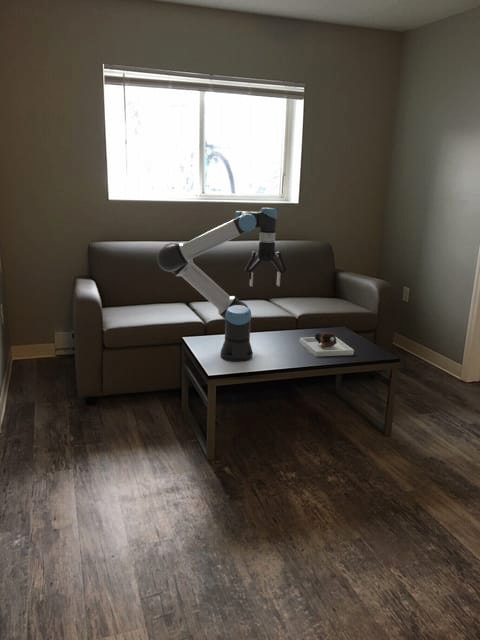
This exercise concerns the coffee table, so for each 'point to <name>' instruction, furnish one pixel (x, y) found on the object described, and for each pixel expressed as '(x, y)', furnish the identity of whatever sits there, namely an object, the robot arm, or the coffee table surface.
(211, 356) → the coffee table surface
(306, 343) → the parts tray
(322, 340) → the pottery mug
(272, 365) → the coffee table surface
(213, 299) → the robot arm
